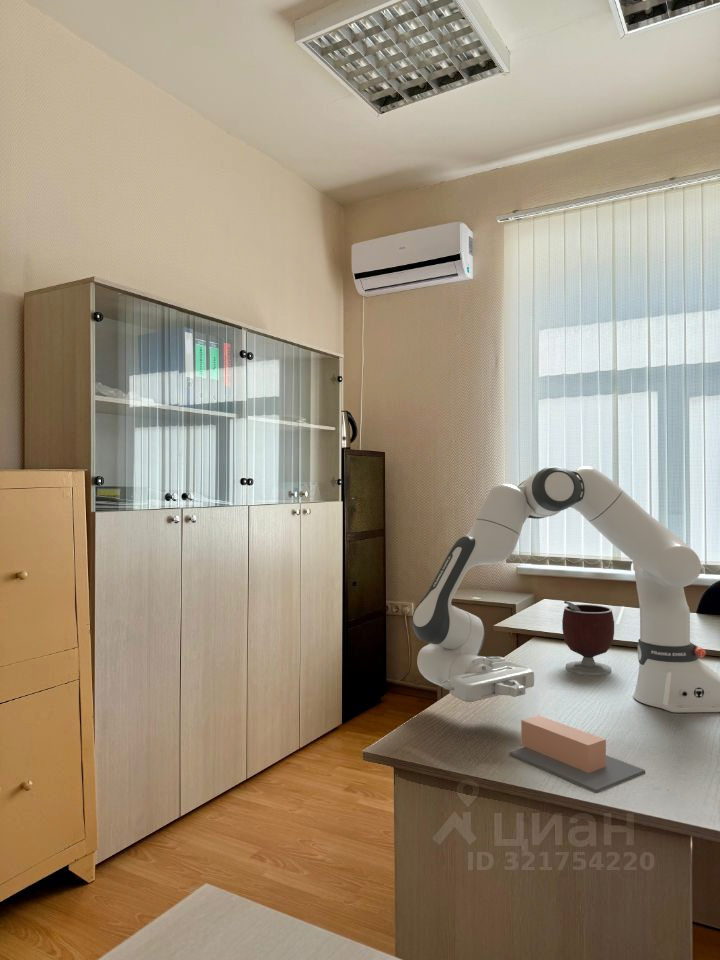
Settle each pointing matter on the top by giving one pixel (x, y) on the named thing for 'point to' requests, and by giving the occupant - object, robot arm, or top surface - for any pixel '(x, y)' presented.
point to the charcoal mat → (592, 781)
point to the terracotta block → (564, 743)
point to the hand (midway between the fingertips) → (520, 691)
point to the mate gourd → (588, 636)
